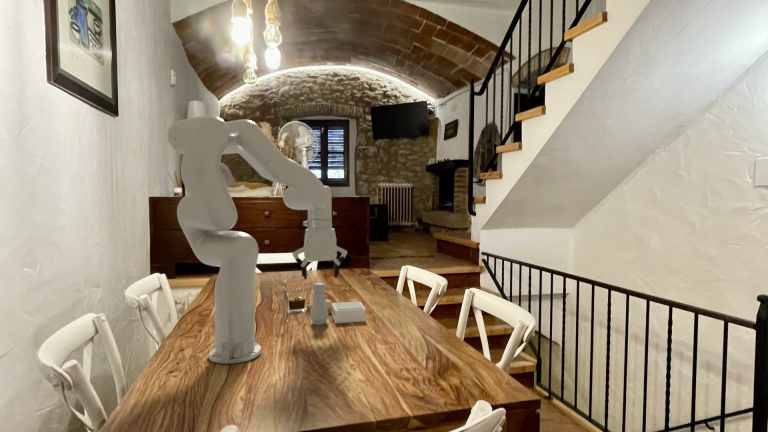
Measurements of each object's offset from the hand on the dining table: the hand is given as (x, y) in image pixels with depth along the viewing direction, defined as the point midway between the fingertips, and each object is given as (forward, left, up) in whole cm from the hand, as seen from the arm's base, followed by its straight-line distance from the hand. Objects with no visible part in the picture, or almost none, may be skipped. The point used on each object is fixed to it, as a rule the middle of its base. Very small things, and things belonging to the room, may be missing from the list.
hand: (320, 277), depth 131 cm
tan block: (+13, -3, -15) cm, 20 cm away
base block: (+4, -10, -15) cm, 18 cm away
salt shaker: (0, 0, -15) cm, 15 cm away
